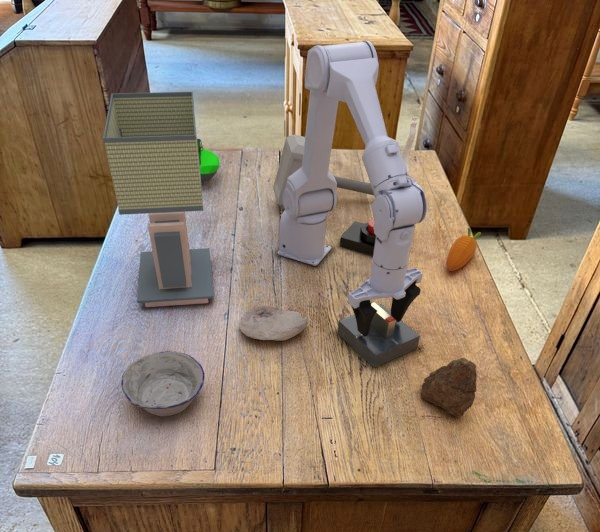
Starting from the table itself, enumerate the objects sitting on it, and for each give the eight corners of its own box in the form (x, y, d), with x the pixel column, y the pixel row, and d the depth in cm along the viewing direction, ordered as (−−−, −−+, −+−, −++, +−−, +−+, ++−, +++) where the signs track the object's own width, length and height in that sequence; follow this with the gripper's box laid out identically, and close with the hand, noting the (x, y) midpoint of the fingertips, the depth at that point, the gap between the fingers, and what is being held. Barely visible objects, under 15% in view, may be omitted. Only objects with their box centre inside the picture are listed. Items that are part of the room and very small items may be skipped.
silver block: (365, 320, 104) (367, 303, 101) (372, 317, 105) (374, 301, 102) (386, 338, 101) (389, 322, 98) (393, 335, 101) (396, 319, 99)
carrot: (466, 268, 116) (488, 234, 125) (446, 254, 116) (470, 220, 125) (452, 284, 120) (475, 249, 129) (433, 270, 120) (457, 236, 129)
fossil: (229, 322, 101) (251, 293, 108) (231, 342, 104) (252, 312, 111) (294, 335, 98) (312, 304, 105) (294, 354, 101) (312, 323, 108)
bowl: (220, 409, 92) (217, 388, 89) (143, 439, 88) (137, 419, 84) (188, 361, 100) (185, 340, 96) (116, 386, 95) (110, 365, 91)
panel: (336, 333, 106) (338, 320, 104) (379, 315, 110) (381, 302, 108) (373, 368, 100) (375, 355, 98) (417, 348, 104) (420, 334, 102)
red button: (364, 232, 124) (365, 225, 123) (371, 224, 126) (372, 217, 125) (380, 236, 123) (381, 229, 122) (386, 229, 125) (387, 221, 124)
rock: (413, 388, 97) (436, 343, 90) (446, 389, 99) (471, 344, 92) (434, 430, 90) (460, 384, 83) (468, 430, 92) (497, 385, 85)
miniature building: (175, 170, 149) (169, 127, 141) (220, 169, 150) (217, 126, 142) (173, 192, 141) (167, 147, 133) (221, 191, 142) (217, 147, 134)
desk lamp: (214, 309, 110) (197, 135, 86) (139, 314, 108) (100, 138, 84) (210, 256, 122) (194, 91, 99) (142, 260, 121) (109, 93, 97)
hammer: (406, 158, 138) (287, 130, 129) (416, 173, 133) (293, 145, 123) (383, 215, 148) (271, 193, 139) (391, 230, 143) (275, 209, 134)
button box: (339, 246, 127) (341, 229, 124) (353, 229, 132) (355, 213, 129) (381, 258, 124) (384, 242, 121) (394, 241, 129) (397, 225, 126)
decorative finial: (407, 238, 130) (429, 124, 112) (390, 238, 129) (408, 124, 111) (402, 225, 134) (422, 112, 116) (385, 225, 133) (402, 112, 115)
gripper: (370, 286, 87) (360, 352, 97) (440, 259, 93) (424, 324, 103) (343, 263, 91) (336, 329, 101) (411, 239, 97) (399, 303, 107)
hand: (379, 325), depth 102 cm, fingers open, 7 cm apart
